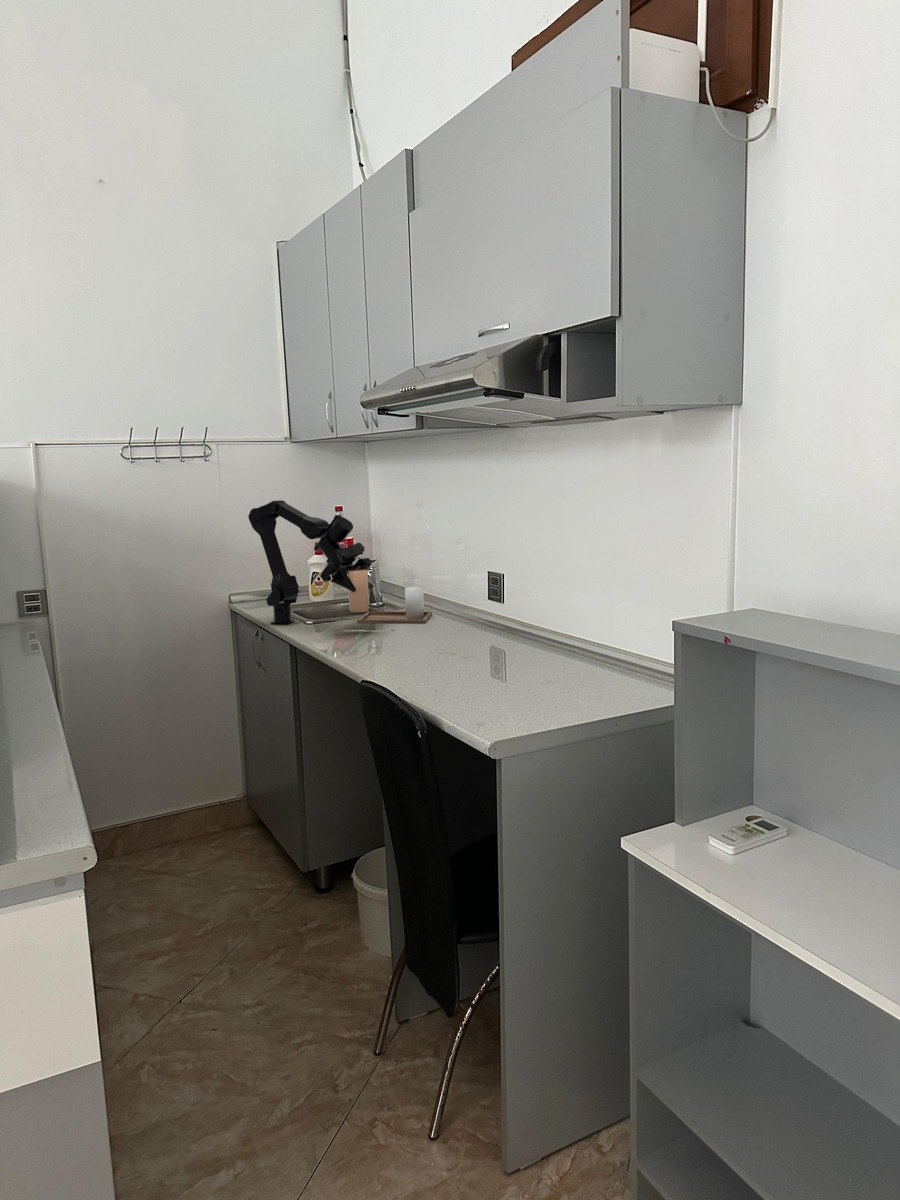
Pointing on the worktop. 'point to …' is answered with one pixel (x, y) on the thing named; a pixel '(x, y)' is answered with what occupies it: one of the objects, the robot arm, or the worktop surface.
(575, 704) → the worktop surface
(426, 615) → the walnut tray
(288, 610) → the robot arm
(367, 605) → the peach tapered cylinder
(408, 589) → the white rounded cylinder
